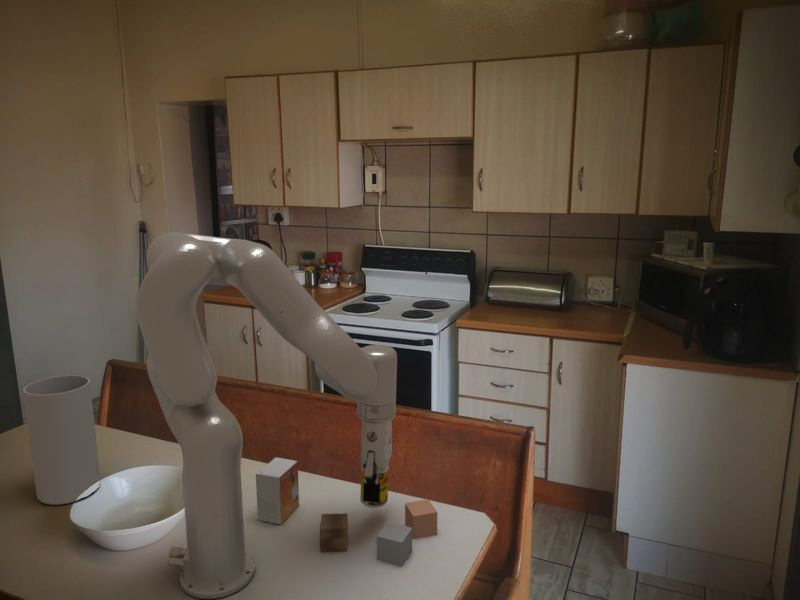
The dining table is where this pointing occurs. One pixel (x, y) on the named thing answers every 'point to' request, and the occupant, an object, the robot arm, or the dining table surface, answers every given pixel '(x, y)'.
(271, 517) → the small box
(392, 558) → the slate block
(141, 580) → the dining table surface
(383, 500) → the supplement bottle
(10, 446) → the dining table surface
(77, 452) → the cylinder vase
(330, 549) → the walnut block
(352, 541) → the dining table surface
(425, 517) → the terracotta block
